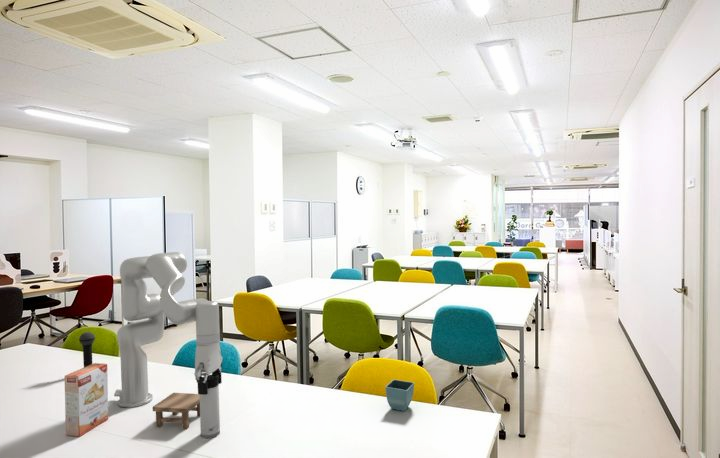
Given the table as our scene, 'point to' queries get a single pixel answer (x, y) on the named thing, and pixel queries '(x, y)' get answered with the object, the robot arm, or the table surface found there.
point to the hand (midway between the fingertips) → (210, 388)
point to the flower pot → (399, 394)
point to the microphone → (87, 347)
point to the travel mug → (210, 409)
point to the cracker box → (86, 399)
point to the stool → (177, 408)
